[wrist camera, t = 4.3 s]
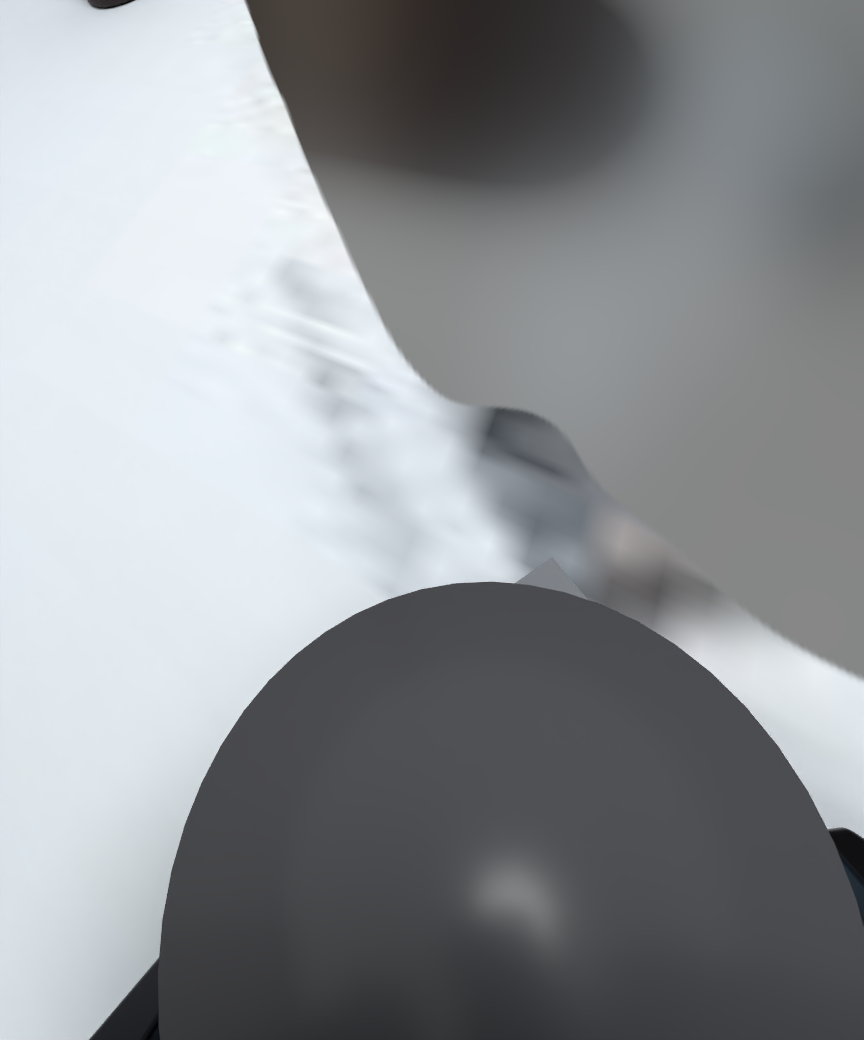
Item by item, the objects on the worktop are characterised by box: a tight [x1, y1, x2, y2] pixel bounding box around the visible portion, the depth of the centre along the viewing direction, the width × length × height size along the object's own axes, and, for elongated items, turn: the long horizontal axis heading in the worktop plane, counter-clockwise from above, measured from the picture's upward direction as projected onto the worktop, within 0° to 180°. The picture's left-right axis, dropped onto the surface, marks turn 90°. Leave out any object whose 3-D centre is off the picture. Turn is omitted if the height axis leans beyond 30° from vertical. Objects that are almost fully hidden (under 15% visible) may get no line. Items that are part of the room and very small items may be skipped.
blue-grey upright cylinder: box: [158, 582, 864, 1040], centre depth 11 cm, size 7×7×12 cm
